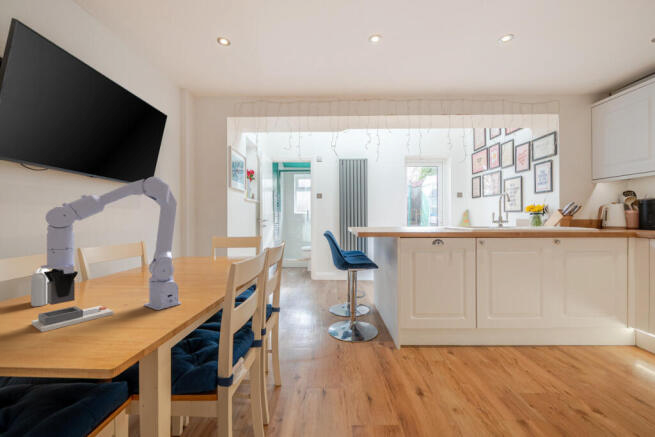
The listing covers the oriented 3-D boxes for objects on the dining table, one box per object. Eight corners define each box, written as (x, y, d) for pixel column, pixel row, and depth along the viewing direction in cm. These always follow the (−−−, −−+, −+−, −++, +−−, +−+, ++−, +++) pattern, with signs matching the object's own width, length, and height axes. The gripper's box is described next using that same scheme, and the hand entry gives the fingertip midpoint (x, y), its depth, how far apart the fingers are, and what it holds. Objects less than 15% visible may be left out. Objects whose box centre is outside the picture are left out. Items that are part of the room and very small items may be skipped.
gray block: (74, 300, 81) (74, 280, 81) (51, 304, 77) (51, 283, 77) (70, 298, 83) (70, 278, 83) (47, 302, 79) (47, 281, 79)
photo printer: (35, 300, 100) (34, 267, 100) (51, 298, 103) (51, 265, 103) (29, 308, 92) (29, 271, 92) (47, 305, 95) (47, 269, 95)
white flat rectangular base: (113, 314, 87) (113, 304, 87) (41, 332, 73) (41, 320, 73) (100, 308, 92) (100, 299, 92) (31, 324, 79) (31, 313, 79)
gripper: (34, 248, 80) (34, 294, 81) (49, 252, 73) (49, 303, 73) (66, 246, 86) (66, 289, 86) (83, 249, 79) (83, 296, 79)
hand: (60, 295), depth 80 cm, fingers closed on gray block, 4 cm apart
